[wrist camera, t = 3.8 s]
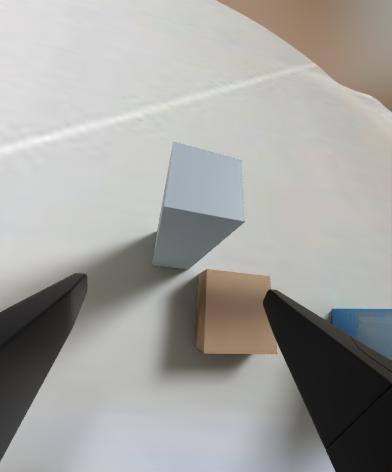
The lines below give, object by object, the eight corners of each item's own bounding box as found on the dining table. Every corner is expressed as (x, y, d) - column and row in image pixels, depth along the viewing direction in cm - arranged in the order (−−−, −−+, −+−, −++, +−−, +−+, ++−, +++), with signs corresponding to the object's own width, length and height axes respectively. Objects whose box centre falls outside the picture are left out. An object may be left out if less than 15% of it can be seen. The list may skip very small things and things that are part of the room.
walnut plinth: (258, 347, 19) (277, 354, 16) (194, 346, 18) (204, 353, 15) (254, 280, 22) (269, 276, 19) (198, 274, 20) (206, 269, 18)
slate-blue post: (188, 269, 20) (244, 221, 9) (151, 265, 19) (164, 206, 8) (190, 236, 22) (241, 160, 10) (157, 231, 21) (173, 141, 10)
